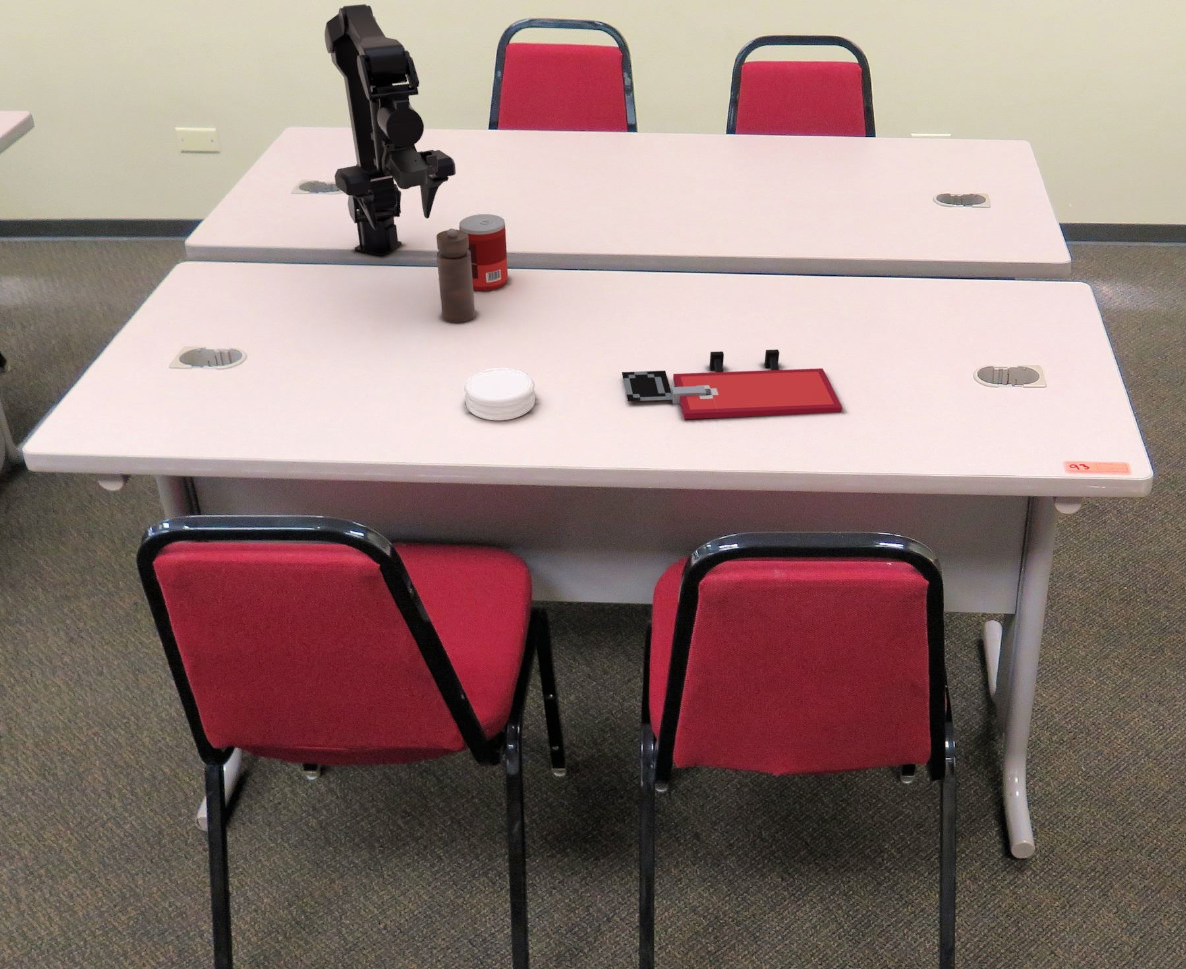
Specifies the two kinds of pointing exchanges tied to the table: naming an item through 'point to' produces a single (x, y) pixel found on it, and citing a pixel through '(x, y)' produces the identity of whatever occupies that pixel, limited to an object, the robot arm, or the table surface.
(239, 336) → the table surface
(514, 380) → the coaster
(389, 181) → the robot arm
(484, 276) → the canned food
